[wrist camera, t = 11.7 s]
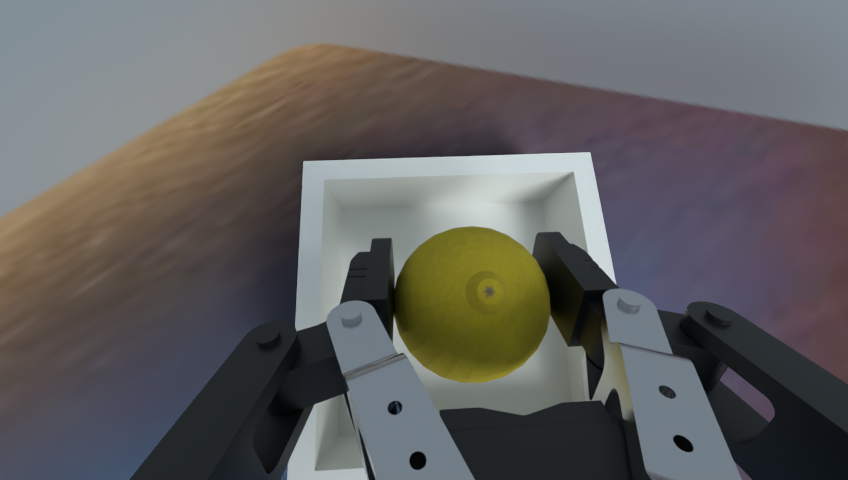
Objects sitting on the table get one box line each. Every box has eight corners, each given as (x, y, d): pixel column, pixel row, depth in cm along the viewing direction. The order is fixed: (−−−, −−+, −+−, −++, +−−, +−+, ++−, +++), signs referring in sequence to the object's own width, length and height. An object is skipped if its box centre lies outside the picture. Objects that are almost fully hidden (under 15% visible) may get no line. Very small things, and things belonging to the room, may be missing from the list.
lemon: (423, 238, 17) (430, 164, 9) (523, 278, 17) (618, 235, 9) (380, 341, 16) (346, 354, 8) (488, 387, 15) (565, 448, 7)
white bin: (323, 452, 17) (286, 504, 12) (329, 200, 20) (303, 161, 16) (587, 435, 17) (654, 478, 12) (549, 192, 21) (590, 152, 16)
